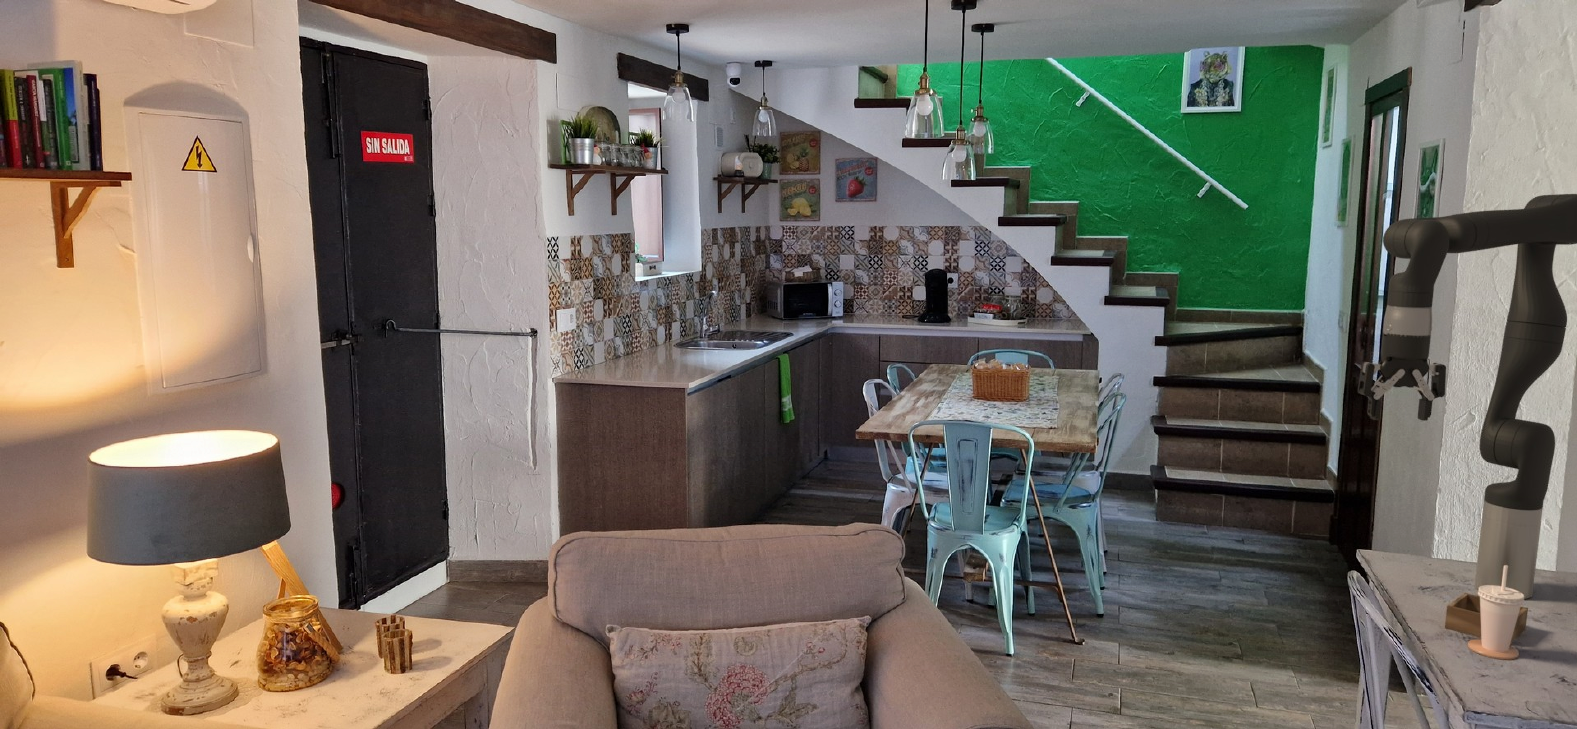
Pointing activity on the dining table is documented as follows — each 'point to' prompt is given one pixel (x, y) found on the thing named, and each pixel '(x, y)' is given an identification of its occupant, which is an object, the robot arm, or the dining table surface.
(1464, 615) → the caddy
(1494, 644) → the smoothie
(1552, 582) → the dining table surface
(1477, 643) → the coaster
